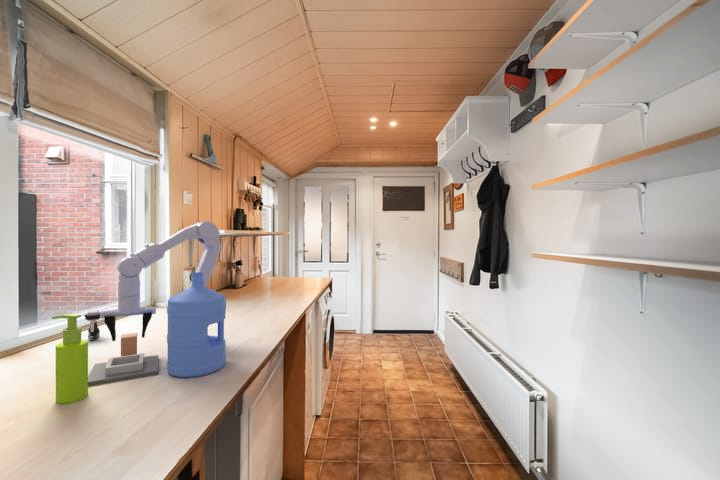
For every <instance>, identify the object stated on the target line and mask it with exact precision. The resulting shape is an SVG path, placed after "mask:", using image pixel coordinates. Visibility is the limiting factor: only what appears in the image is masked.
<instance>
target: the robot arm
mask: <svg viewBox="0 0 720 480" xmlns="http://www.w3.org/2000/svg"><path fill="white" fill-rule="evenodd" d="M220 233H221V232H220V230H219V229H218V227H217V225H216V224H215V223H213V222H212V221H197V222H195V223H194V224H191V225H188V226H186V227H184V228H182V229H181V230H179V231H177V232H176V233H174V234H172V235H171V236H169V237H168V238H166V239H165V240H163V241H161V242H160V243H155V242H151V243H150V244H149V243H146V244H144V247H142V248H141V249H139V250H137V251H136V252H134V253H133V252H131V253H129V256H130V257H124V258H122V259H120V261H119V262H118V263H117V265H116V269H117V271H118V272H119V274H118V284H117V285H118V286H117V290H118V291H117V292H118V293H117V294H118V295H117V296H118V297H117V301H118V302H117V309H115V308H114V309H108V310H107V309H106V310H101V311H100V319H99V320H101V319H103V322H104V324H105V325H106V327H107V328H108V332H109V334H110V336H111V340H112V342H115V341H116V339H117V337H116V336H117V334H116V333H117V332H116V321H117V319H116V318H117V317H127V316H140V315H142V329H141V331H142V332H141V338H142V339H143V338H145V335H146V331H147V327H148V326H149V323H150V321H151V319H152V317H153V315H155V314H156V313H157V307H156V306H145V307H143V306H142V307H141V280H140V274H141V272H142V271H143V270H142V269H146V268H148V267H149V266H151V265H153V264H155V263H156V262H159V261H160V260H161V259H163V258H164V257H165V253H166V252H168V251H169V250H170V249H173V248H175V247H177V246H178V245H180V244H182V243H183V242H185V241H187V240H198V242H200V244H201V246H202V247H203V249H204V251H203V253H202V255H201V258H200V260H199V262H198V264H197V268H196V270H195V271H194V273H196V272H202V273H204V274H203V278H204V280H203V285H204V286H205V287H206V288H207V285H208V283H209V280H210V278H211V276H212V274H213V270H214V269H215V265H216V263H217V260H218V258H219V256H220V253H221V250H222V245H221V240H220ZM191 286H192V281H191V282H190V285H189V287H188V289H189V288H190V287H191Z"/></svg>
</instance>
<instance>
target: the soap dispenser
mask: <svg viewBox="0 0 720 480" xmlns="http://www.w3.org/2000/svg"><path fill="white" fill-rule="evenodd" d="M81 317H82V314H81V313H62V314H59V315H55V316H52V317H51V319H52V320H56V319H67V327H66V328H64V329H62V342H60V343H57V344H55V403H56V404H58V405H67V404H72V403H75V402H79V401H82V400H83V399H85V398H87V397H88V395H89V386H88V376H89V340H87V339H82V327H81V326H78V325H77V324H78V321H77V320H78V318H81Z"/></svg>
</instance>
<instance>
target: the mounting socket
mask: <svg viewBox="0 0 720 480" xmlns="http://www.w3.org/2000/svg"><path fill="white" fill-rule="evenodd" d="M154 375H159V354H155V355H148V356H145V353H137V354H135V355H128V356H121V355H120V356H116V357H115V356H114V357H109V358H108V361H107V362H100V363H98V362H97V363H94V365H93V366H92V368H91V371H90V373H88V387H89V386H94V385H95V386H96V385H101V384H107V383H113V382H119V381H126V380H130V379H136V378H143V377H149V376H154Z"/></svg>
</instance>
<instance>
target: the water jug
mask: <svg viewBox="0 0 720 480" xmlns="http://www.w3.org/2000/svg"><path fill="white" fill-rule="evenodd" d="M195 272H196V271H195ZM195 272H191V276H192V277H191V282H192V286H191V287H190V286H189V287H190V288H189V287H188V288H187V289H185V290H183V291H181V292H178V293H177V294H175V295H173V296H171V297H169V298H168V300H167V307H166V310H167V311H166V312H167V313H166V314H167V335H166V343H167V362H166V370H167V373H169V375H171V376H173V377H177V378H196V377H201V376H206V375H210V374H212V373H215V372H217V371H219V370H220V369H222V368H223V367H224V366H225V364H226V362H227V360H226V358H227V355H226V339H225V319H226V314H227V313H226V310H227V301H226V295H225V294H223V293H221V292H218V291H215V290H213V289H211V288H208V287H207V286H206V287H205V286H204V285H203V280H204V278H203V274H204V273H202V272H196V273H195ZM213 324H217V336H216V335H209V333H208V332H209V330H208V328H209V326H210V325H213Z"/></svg>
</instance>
